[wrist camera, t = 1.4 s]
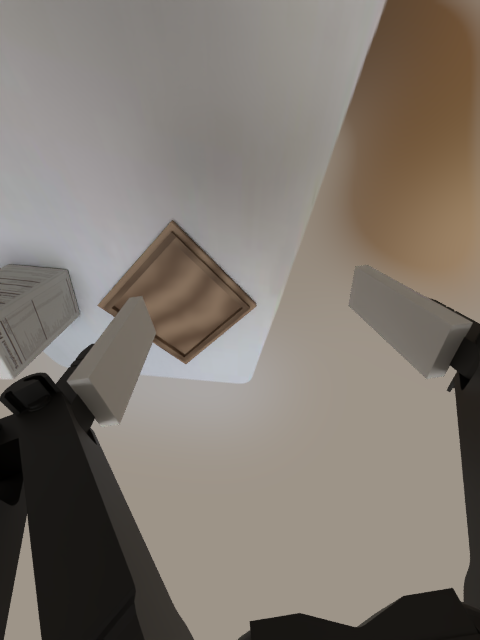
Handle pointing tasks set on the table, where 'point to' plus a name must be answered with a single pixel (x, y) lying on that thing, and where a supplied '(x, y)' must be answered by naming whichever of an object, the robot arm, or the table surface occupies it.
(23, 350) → the supplement box
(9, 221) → the table surface
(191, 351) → the walnut tray
